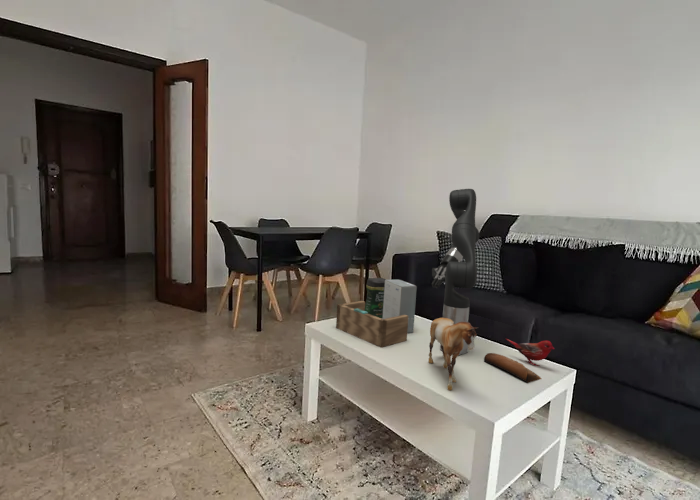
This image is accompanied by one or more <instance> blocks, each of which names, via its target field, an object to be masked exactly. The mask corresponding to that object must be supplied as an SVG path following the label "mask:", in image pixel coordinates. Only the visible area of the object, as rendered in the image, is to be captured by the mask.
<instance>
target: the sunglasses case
mask: <svg viewBox="0 0 700 500" xmlns="http://www.w3.org/2000/svg"><path fill="white" fill-rule="evenodd" d="M483 361H484V362H486V363H488V364H490V365H493V366H496V367H498V368H499V369H501V370H504V371H506V372H507V373H510V374H511V375H514V376H515V377H517V378H519V379H521V380H522V381H525V382H526V383H533V382H536V381H539V380H542V378H541V376H539V375H538V374H537V373H535V372H534V371H533V370H531V369H529V368H527V367H525V365H524V364H523V363H521V362H518V361H517V360H514V359H512V358H510V357H508V356H505V355H502V354H499V353H494V352H489V353H486V354H485V355H484V357H483Z"/></svg>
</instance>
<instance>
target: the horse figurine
mask: <svg viewBox="0 0 700 500" xmlns="http://www.w3.org/2000/svg"><path fill="white" fill-rule="evenodd" d="M478 329H479V327H476V326H475V327H474V326H472V324H471V323H470V322H469V321H468V322H458V323H456V324H454V322H453V321H452V320H451V319H448V318H443V317H439V318H435V319H434V320H432V321H431V324H430V330H429V334H430V335H429V336H430V342H429V345H428V347H429V353H428V363H429V364H433V363H434V359H433V354H432V352H433V348H434V343H435V342H436V341H437V343H439V345H440V344H441V349H442V350H441V349H440V350H441V352H442V359H443V361H444V362H443V363H442V367H443V369H447V371H448V383H447V390H448V391H452V390H453V383H457V381H456V380H457V379H456V377H455V372H454V367H455V365H456V363H457V358H458V356H460V355H459V353H460V351H461V350H462V349H463V347H464V344H463V339H464V340H465V342H466V344H467V345H468V351H473V350H474V348H475V338H476V337H477V332H476V330H478ZM451 356H452V357H451Z"/></svg>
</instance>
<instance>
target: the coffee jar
mask: <svg viewBox="0 0 700 500" xmlns="http://www.w3.org/2000/svg"><path fill="white" fill-rule="evenodd" d="M385 280H387V279H386V278H385V277H384V278H383V277H369V278H367V280H366V287H365V288H366V291H367V292H366V301H365V311H366V312H368V314H370V315H373V316H376V317H379V318H381V319H382V317H383V301H384V287H385Z"/></svg>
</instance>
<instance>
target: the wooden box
mask: <svg viewBox="0 0 700 500" xmlns="http://www.w3.org/2000/svg"><path fill="white" fill-rule="evenodd" d="M365 305H366V301H364V300H359V301H352V302H345V303H339V304H337V305H336V318H335V319H336V321H335V323H336V324H335V328H336V329H338V330H340V331H342V332H344V333H346V334H347V333H348V334H350V335H352V336H354V337H356V338H359V339H361V340H363V341H365V342H368V343H370V344H373V345H375V346H377V347H379V348H385V347H389V346H393V345H396V344H401V343H403V342H407V341H408V340H407V339H408V333H407V330H408V316H407V315H401V316H396V317H391V318H386V319H382V318H379V317H376V316H373V315H370V314H368V312H366V311H365Z"/></svg>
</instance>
